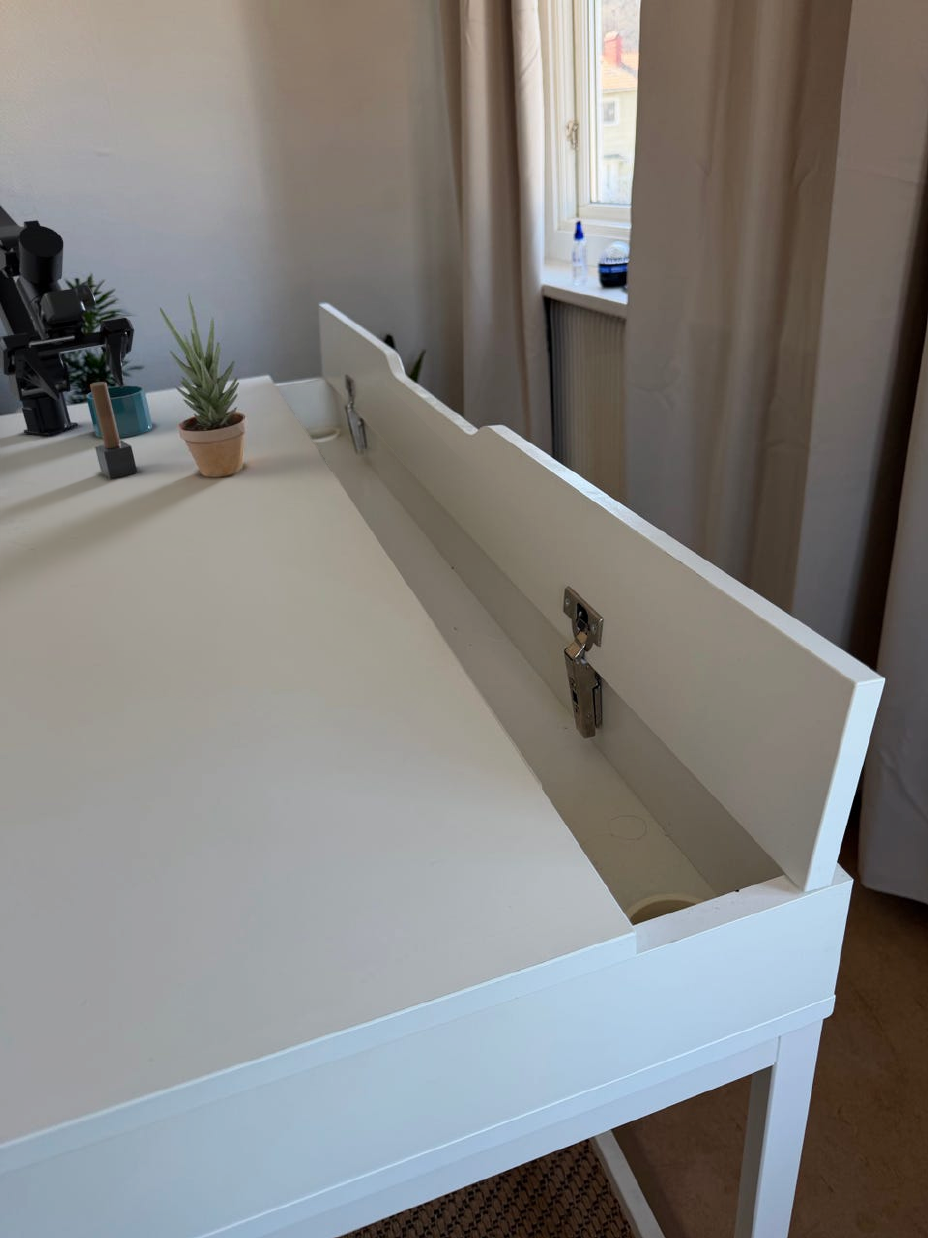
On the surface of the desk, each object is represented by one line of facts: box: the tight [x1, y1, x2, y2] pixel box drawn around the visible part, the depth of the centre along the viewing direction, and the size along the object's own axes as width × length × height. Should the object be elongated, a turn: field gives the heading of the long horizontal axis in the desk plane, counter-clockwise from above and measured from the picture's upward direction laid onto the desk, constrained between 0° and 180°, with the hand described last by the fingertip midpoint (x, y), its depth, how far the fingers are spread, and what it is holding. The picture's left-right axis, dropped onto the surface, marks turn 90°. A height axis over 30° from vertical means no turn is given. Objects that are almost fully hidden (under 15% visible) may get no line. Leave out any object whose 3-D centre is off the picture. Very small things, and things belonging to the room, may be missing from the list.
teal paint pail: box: [85, 384, 153, 439], centre depth 157 cm, size 9×9×6 cm
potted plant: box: [158, 292, 249, 478], centre depth 130 cm, size 10×10×25 cm
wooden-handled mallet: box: [89, 381, 138, 480], centre depth 135 cm, size 4×4×13 cm
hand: (90, 392), depth 136 cm, fingers open, 9 cm apart
